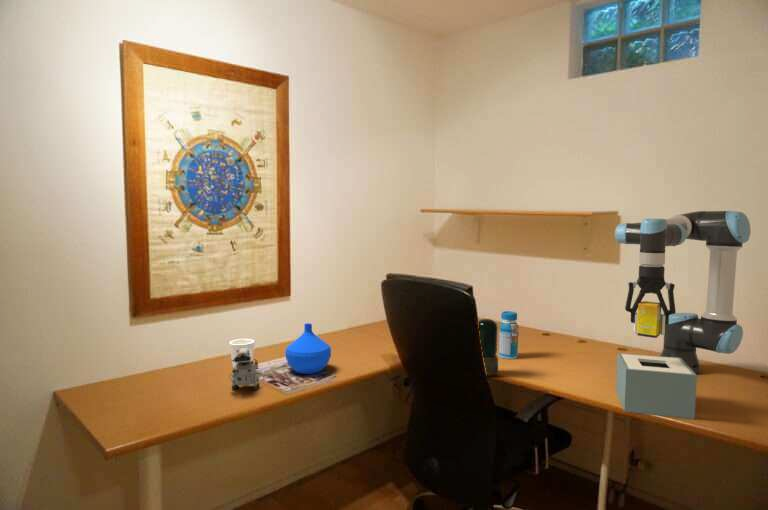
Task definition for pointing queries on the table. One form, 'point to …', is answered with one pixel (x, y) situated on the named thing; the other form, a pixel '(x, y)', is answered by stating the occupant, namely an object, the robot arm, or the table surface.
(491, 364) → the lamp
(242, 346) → the foam cup
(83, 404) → the table surface
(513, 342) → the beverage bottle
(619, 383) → the box
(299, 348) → the vase
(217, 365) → the table surface
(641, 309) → the supplement box
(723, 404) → the table surface
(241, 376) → the figurine
